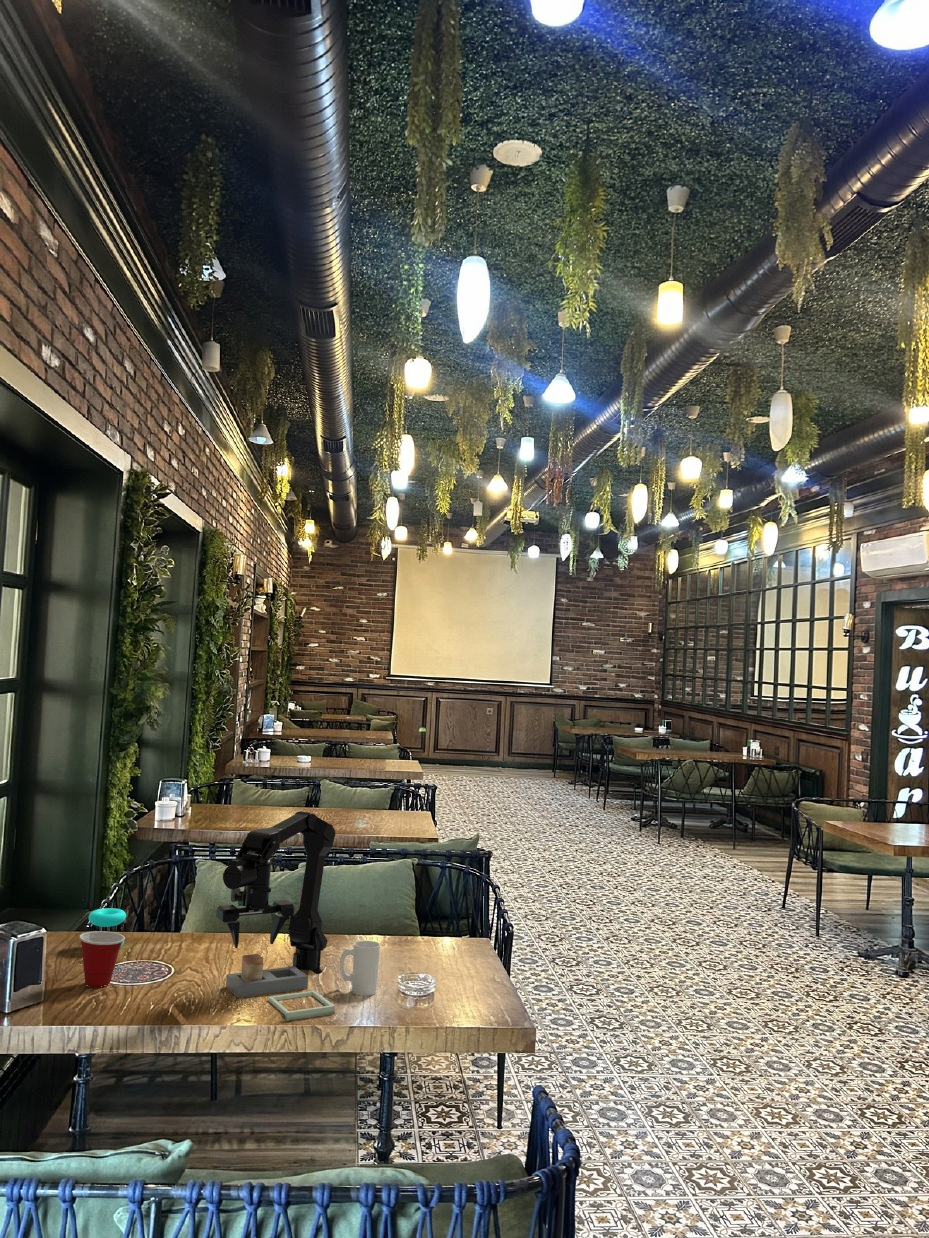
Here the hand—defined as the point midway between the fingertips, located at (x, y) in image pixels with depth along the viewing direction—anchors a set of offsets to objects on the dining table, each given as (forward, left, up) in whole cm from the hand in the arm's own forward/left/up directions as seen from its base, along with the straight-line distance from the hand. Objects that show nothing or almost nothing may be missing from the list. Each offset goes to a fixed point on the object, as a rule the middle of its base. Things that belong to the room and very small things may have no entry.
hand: (253, 945), depth 233 cm
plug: (0, 0, -11) cm, 11 cm away
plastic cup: (+32, -21, -12) cm, 40 cm away
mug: (-25, +9, -12) cm, 29 cm away
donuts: (+24, -53, -12) cm, 59 cm away
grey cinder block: (-4, 0, -12) cm, 12 cm away
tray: (-7, +15, -12) cm, 20 cm away
